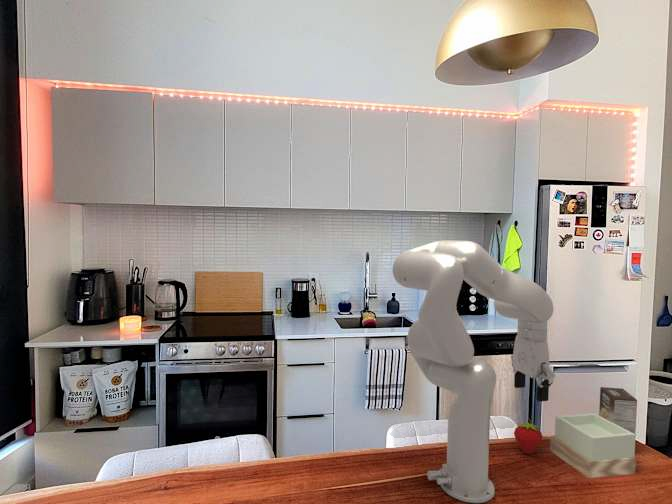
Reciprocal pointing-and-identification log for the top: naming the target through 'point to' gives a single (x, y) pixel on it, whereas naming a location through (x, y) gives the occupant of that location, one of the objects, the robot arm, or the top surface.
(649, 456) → the top surface
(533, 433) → the strawberry
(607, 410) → the coffee box
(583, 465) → the maple base block
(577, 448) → the sage top block
